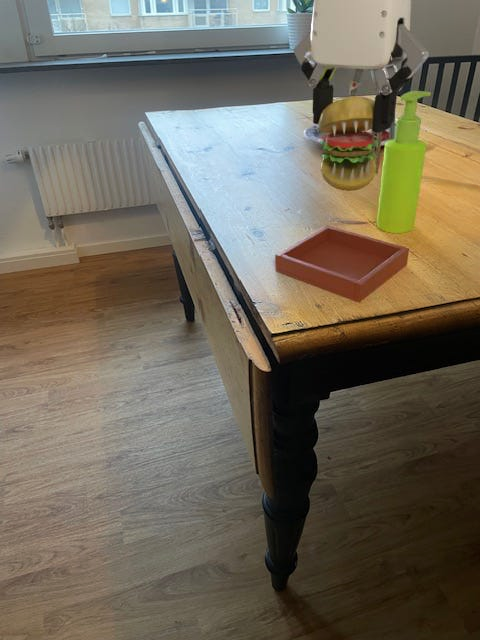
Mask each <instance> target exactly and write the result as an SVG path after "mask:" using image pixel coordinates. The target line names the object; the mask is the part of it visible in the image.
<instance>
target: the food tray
mask: <svg viewBox="0 0 480 640" xmlns="http://www.w3.org/2000/svg"><path fill="white" fill-rule="evenodd" d="M409 253H410V248H409V247H407V246H403V245H399V244H395V243H392V242H388V241H384V240H382V239H381V240H380V239H378V238H374V237H370V236H368V235H362V234H359V233H356V232H352V231H349V230H345V229H341V228H338V227H334V226H330V225H325V226H323V227H322V228H320V229H318V230H316V231H315V232H312V233H311V234H309V235H307V236H306V237H304V238H302V239H301V240H299V241H298V242H295V243H294V244H292V245H290V246H288V247H287V248H285V249H283V250H281V251H280V252H278V253H276V254H275V255H274V256H275V257H274V258H275V260H274V261H275V272H276V273H279V274H282V275H284V276H286V277H290V278H292V279H295V280H298V281H301V282H304V283H305V284H309V285H311V286H314V287H317V288H319V289H322V290H325V291H328V292H330V293H332V294H333V293H334V294H335V295H338V296H341V297H344V298H347V299H349V300H351V301H355V302H356V303H357V302H358V303H361V302H362V301H363V300H364V299H366V298H367V297H368V296H370V295H371V294H372V293H374V292H375V291H376V290H377V289H378V288H379V287H381V286H383V284H385V283H386V282H388V281H389V280H390V279H392V277H393V276H395V275H396V274H397V273H399V272H400V271H402V269H404V268H406V266H407V265H408V259H409Z"/></svg>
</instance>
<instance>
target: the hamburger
mask: <svg viewBox="0 0 480 640" xmlns="http://www.w3.org/2000/svg"><path fill="white" fill-rule="evenodd" d="M348 82H349V84H348V85H349V92H350V91H351V90H353V89H355V88H357V87H361V86H363V84H362V83H360V82H359V83H357V82H355V81H353V79H351V78H349V81H348ZM357 89H358V88H357ZM374 104H375V100H373V99H372V98H369V97H365V96H356V95H355V96H352V97H349V96H348V97H347V96H346V97H343V98H339V99H337V100H335V101H333V103H331V104H330V105H329V106H327V107H326V108H325V109H324V110H323V112H322V113H321V116H320V120H319V129H320V130H321V131H322V132H324V133H330V134H329V135H327V136H326V139H325V140H324V142H323V143H322V144H320V145H321V146H323V150H322V154H321V158H323V159H322V162H321V164H320V172H321V176H322V178H323V180H324V181H325V183H327V184H328V185H329V186H331V187H332V188H334V189H336V190H340V191H347V192H349V191H351V192H353V191H358V190H360V189H363V188H365V187H367V186H368V185H370V183H371V182H372V181H373V180H374V178H375V176H376V173H375V172H376V164H375V161H374V160H375V159H374V158H376V148H375V147H376V146H378V142H377V140H375V139H374V132H373V131H372V134H373V135H372V134H370V133H367V130H370V129H371V130H372V126H373V115H374ZM361 131H366V132H361Z"/></svg>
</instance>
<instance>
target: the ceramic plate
mask: <svg viewBox="0 0 480 640" xmlns="http://www.w3.org/2000/svg"><path fill="white" fill-rule="evenodd" d="M389 129H390V128H389ZM389 129H387V130H384V131H382V138H381V147H383V146H384V147H385V143H386V142H387V141H389ZM395 129H396V122H395ZM361 132H366V131H361ZM367 133H370V134H372V130H371V129H370V130H367ZM329 134H330V133H324V132H322V131H321V130H320V129H319V124H314V125H311V126H309V127H308V128H306V129H305V130H304V131H303V136H304V137H305V138H306V139H307V140H309V141H311V142H313V143H316V144H320V145H321V144H322V143H323V142H324V140H325V139H326V136H327V135H329ZM372 135H373V134H372ZM374 139H375V140H377V133H375V132H374ZM375 149H376V147H375Z"/></svg>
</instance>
